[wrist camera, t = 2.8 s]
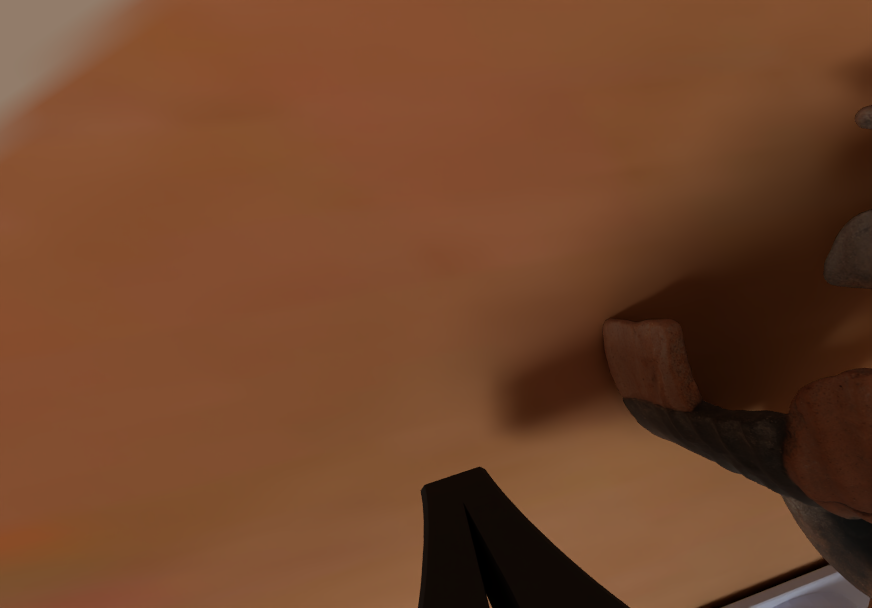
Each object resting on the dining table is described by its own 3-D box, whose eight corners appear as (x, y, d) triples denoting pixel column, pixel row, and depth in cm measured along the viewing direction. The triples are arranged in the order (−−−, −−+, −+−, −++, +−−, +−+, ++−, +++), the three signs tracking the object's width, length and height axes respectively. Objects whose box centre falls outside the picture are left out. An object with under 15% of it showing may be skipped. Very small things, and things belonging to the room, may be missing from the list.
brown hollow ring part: (529, 232, 12) (1116, 62, 5) (712, 139, 16) (1137, -14, 9) (680, 629, 14) (1256, 930, 7) (804, 443, 18) (1214, 502, 11)
